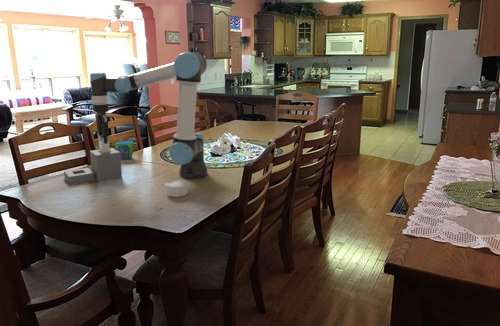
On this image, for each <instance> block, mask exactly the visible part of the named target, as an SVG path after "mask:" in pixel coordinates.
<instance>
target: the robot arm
mask: <svg viewBox="0 0 500 326" xmlns="http://www.w3.org/2000/svg"><path fill="white" fill-rule="evenodd" d="M207 66H208V64H207V59H206V58H205V56H204V55H203V54H202V53H200V52H196V51H195V52H193V51H192V52H191V51H185V52H182V53H180V54H179V55H177V56H176V57H175V59H174V61H173V62H172V63H168V64H164V65H160V66H158V67H155V68H150V69H147V70H143V71H139V72H136V73H132V74H128V75H122V76H107V75H106V72H91V73H90V75H89V78H90V80H89V83H90V90H91V97H90V99H91V100H92V111H93V112H94V113H96V114H95V120H96V122H95V123H96V129H97V130H96V131H97V134H98V136H102V137H101V138H102V144H103V150H107V149H109V147H108V137H110V132H109V130H110V129H109V117H107V114H106V112H109V111H110V109H109V104H108V103H109V96H108V95H109V94H108V93H119V94H124V93H129V92H130V91H134V90H136V89H140V88H143V87H147V86H151V85H155V84H158V83H162V82H165V81H170V80H173V79H175V80H176V82H177V83H178V102H177V116H176V117H177V121H176V132H175V133H174V134H173V136H172V144H171V146H170V148H169V151H168V152H169V153H168V154H169V156H170V158H171V160H172V161H173V163H176V164H178V165H180V168H179V177H180V178H183V179H200V178H201V179H202V178H204V177H207V176H208V168H207V165H206V163H205V156H204V155H205V153H204V152H205V151H204V150H205V149H204V141H205V139H204V135H203V133H199V132H195V122H196V111H197V109H196V108H197V92H198V86H199V84H201V82H202V75H203V74H204V73H205V72H206V70H207Z"/></svg>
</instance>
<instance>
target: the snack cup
mask: <svg viewBox="0 0 500 326" xmlns="http://www.w3.org/2000/svg"><path fill="white" fill-rule="evenodd" d="M134 144H135V143H134V141H133V140H119V141H116V142H115V144H114V145H117V146H118V147H117V151H119V152H120V159H121V160H128V159H131V158H132V157H133V154H134V150H133V146H134Z"/></svg>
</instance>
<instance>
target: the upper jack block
mask: <svg viewBox="0 0 500 326" xmlns="http://www.w3.org/2000/svg"><path fill="white" fill-rule="evenodd" d="M89 156H90V157H89V158H90V166H91V168H90V169H91V171H92V172H93V173H94V179H95V181H97V182H98V183H99V182H106V181H112V180H117V179H118V180H119V179H122V178H123V173H122V161H121V160H122V159H120V152H119V151H118V150H115V149H114V148H110V152H107V153H100V150H98V149H95V150H89Z"/></svg>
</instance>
